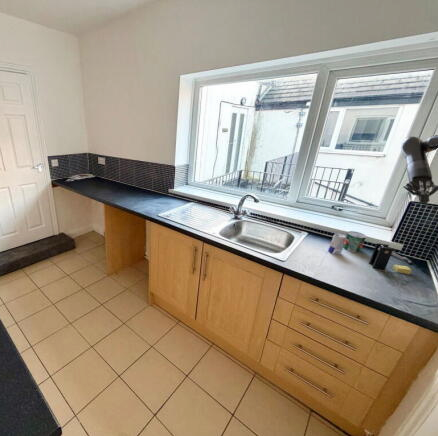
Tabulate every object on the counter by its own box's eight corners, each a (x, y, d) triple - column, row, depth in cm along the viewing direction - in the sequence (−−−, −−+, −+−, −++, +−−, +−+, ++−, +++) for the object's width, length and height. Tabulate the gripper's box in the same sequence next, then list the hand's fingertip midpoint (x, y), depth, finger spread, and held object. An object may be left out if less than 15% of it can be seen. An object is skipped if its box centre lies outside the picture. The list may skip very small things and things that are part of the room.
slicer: (384, 267, 120) (393, 244, 116) (392, 275, 113) (403, 251, 109) (359, 263, 124) (367, 240, 119) (366, 271, 117) (375, 247, 112)
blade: (404, 261, 115) (408, 257, 114) (410, 266, 111) (415, 262, 110) (375, 247, 118) (379, 243, 117) (381, 252, 113) (385, 248, 112)
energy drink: (328, 251, 135) (335, 232, 130) (340, 255, 131) (347, 235, 127) (326, 255, 131) (333, 235, 127) (338, 258, 128) (345, 238, 123)
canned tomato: (338, 247, 139) (344, 230, 135) (354, 249, 138) (360, 231, 134) (345, 254, 132) (352, 236, 128) (362, 256, 131) (369, 238, 126)
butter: (405, 271, 116) (407, 266, 115) (409, 275, 113) (412, 270, 112) (392, 269, 118) (394, 264, 117) (396, 272, 114) (398, 268, 113)
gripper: (406, 166, 117) (412, 197, 110) (443, 168, 112) (451, 200, 106) (396, 175, 123) (401, 205, 117) (430, 177, 119) (437, 208, 112)
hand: (424, 202), depth 111 cm, fingers closed
